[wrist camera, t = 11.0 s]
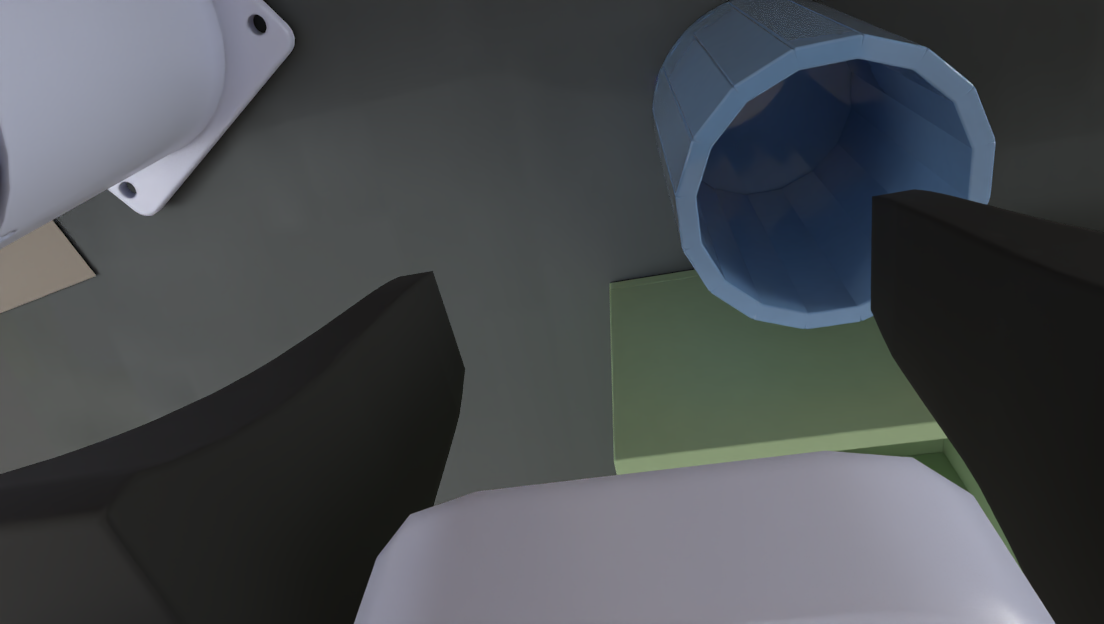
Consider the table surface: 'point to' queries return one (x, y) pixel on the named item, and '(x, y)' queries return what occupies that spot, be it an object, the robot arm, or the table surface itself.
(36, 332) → the table surface
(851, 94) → the cup
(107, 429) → the table surface
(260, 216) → the table surface
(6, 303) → the architectural model
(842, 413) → the bin
